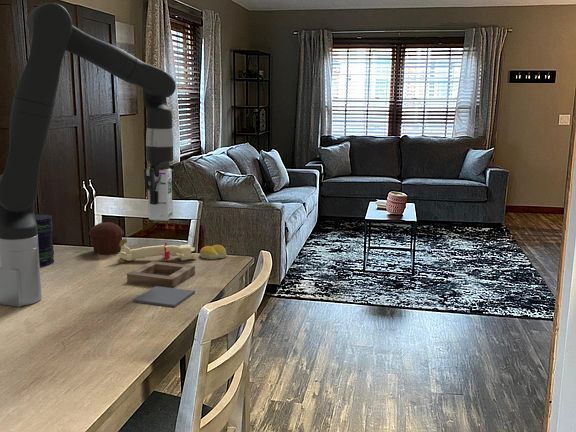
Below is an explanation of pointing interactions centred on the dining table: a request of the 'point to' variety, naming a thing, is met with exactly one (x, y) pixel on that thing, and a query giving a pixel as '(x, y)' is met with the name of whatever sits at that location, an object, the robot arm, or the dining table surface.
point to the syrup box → (162, 197)
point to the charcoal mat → (164, 296)
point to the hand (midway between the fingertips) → (160, 202)
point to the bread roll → (213, 252)
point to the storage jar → (45, 239)
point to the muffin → (106, 238)
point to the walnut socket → (147, 277)
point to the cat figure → (157, 251)
